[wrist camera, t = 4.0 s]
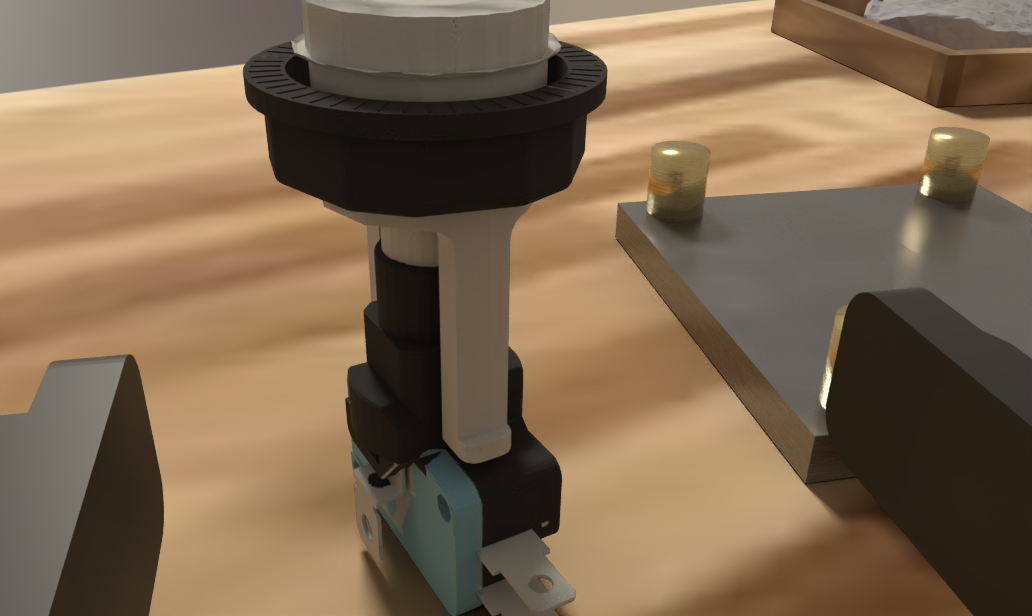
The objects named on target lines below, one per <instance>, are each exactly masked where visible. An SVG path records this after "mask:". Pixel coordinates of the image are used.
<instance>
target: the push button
mask: <svg viewBox="0 0 1032 616" xmlns="http://www.w3.org/2000/svg"><path fill="white" fill-rule="evenodd" d="M301 2H302V15H303V25H304V32H303V33H302V34H300V35H299V36H297V37H296V38H295V39H293V40H292V41H291V42H287V43H283V44H280V45H277V46H274V47H272V48H269V49H267V50H264V51H262V52H260V53H258V54H257V55H255V56H254V57H252V58H251V59H250V60H249V61H248V62H247V63H246V64H245V66H244V68H243V77H244V85H245V94H246V98H247V101H248V102H249V104H250V105H251V106H252V107H253V108H254V109H256V110H257V111H258V112H260V113H262V114H264V115H265V123H266V133H267V142H268V151H269V158H270V162H271V165H272V168H273V172H274V175H275V178H276V179H277V180H278V182H280V183H282V184H284V185H287V186H289V187H291V188H294V189H296V190H299V191H301V192H304V193H306V194H309V195H311V196H313V197H316V198H318V199H321V200H323V204H324V207H326V208H328V209H330V210H333V211H335V212H337V213H339V214H341V215H344V216H346V217H348V218H350V219H353V220H355V221H357V222H359V223H361V224H364V225H367V237H368V254H369V270H370V286H371V303H369V305H368V306H367V307H366V308H365V309H364V323H365V338H366V354H367V362H366V363H362V364H358V365H355V366H351V367H349V369H348V375H347V386H348V398H346V399H345V401H346V413H347V424H348V428H349V432H350V435H351V437H352V449H353V450H351V456H352V466H353V476H354V478H355V479H356V481H357V483H356V484H354V492H355V505H356V517H357V526H358V529H359V533H360V536H361V538H362V540H363V541H364V543H365V544H366V546H367V547H368V549H369V551H370V552H371V554H372V555H373V557H374V558H375V560H376V562H377V561H380V560H383V559H384V558H383V542H382V526H381V516H380V514H379V513H378V511H377V509H378V510H379V512H380V513H381V515H382V516H383V518H384V519H385V521H386V522H387V524H388V525H389V527H390V528H391V530H392V531H393V532H394V534H395V535H396V537H397V538H398V540H399V541H400V543H401V544H402V546H403V547H404V549H405V550H406V551H407V553H408V554H409V556H410V557H411V559H412V560H413V562H414V563H415V565H416V566H417V568H418V569H419V571H420V572H421V573H422V575H423V576H424V578H425V579H426V581H427V582H428V584H429V585H430V587H431V588H432V590H433V591H434V593H435V594H436V595H437V597H438V598H439V600H440V601H441V603H442V604H443V606H444V607H445V609H446V610H447V612H448V613H449V614H450V615H451V616H457V615H460V614H462V613H464V612H467V611H469V610H471V609H474V608H476V607H479V606H482V605H484V606H485V607H486V608H487V610H488V611H489V613H490V614H491V615H492V616H496V615H498V614H501V615H502V616H559V615H558V614H557V613H556V611H555V610H554V609H556V608H558V607H561V606H563V605H565V604H568V603H570V602H572V601H574V599H575V596H576V591H575V590H574V589H573V588H572V587H571V585H570V584H569V583H568V582H567V581H566V580H565V578H564V577H563V576H562V575H561V574H560V573H559V572H558V570H557V569H556V568H555V567H554V566H553V565H552V563H551V562H550V561H549V560H548V559H547V558H546V556H545V555H546V554H549V553H550V549H549V548H548V547H547V546H546V545H545V543H544V542H543V541H542V540H541V539H542V538H544V537H547V536H549V535H552V534H554V533H556V532H557V531H558V529H559V524H560V505H561V487H562V474H561V470H560V466H559V464H558V462H557V460H556V458H555V457H554V456H553V455H552V454H551V453H550V452H549V451H548V450H547V449H546V448H545V447H544V446H543V445H542V444H541V443H540V442H539V441H538V440H537V439H536V438H535V437H534V436H533V435H532V434H531V433H530V432H529V431H528V430H527V427H526V425H525V422H524V420H523V417H522V401H523V368H522V364H521V361H520V359H519V358H518V356H517V355H516V353H515V352H514V351H513V350H512V349H511V348H510V347H509V346H508V339H509V283H510V238H511V233H512V229H513V227H514V225H515V223H516V221H517V220H518V219H519V217H520V216H521V215H523V214H524V213H525V212H526V211H527V210H528V208H529V207H530V206H531V205H532V203H533V202H535V201H537V200H540V199H542V198H545V197H547V196H550V195H552V194H555V193H557V192H559V191H562V190H564V189H566V188H568V186H569V185H570V184H571V182H572V180H573V177H574V175H575V173H576V170H577V168H578V166H579V164H580V161H581V159H582V157H583V154H584V151H585V138H586V120H587V114H588V113H590V112H592V111H593V110H595V109H596V108H597V107H598V106H599V105H600V104H602V102H603V100H604V99H605V95H606V85H607V67H606V65H605V63H604V62H603V61H602V60H601V59H600V58H599V57H597V56H596V55H594V54H593V53H591V52H589V51H587V50H585V49H582V48H580V47H577V46H574V45H571V44H568V43H565V42H561V41H558V40H557V38H556V37H555V36H554V35H553V34H552V33H549V11H550V0H301ZM366 517H367V519H368V521H369V523H370V526H371V530H372V536H371V534H370V532H369V530H368V527H367V523H366ZM539 578H544V579H548V580H549V581H550V582H552V584H553V588H552V589H551V591H549V592H548V589H547V588H546V587H545V586H544V584H543V583H542V582H541V581H540V580H539Z"/></svg>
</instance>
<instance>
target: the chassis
mask: <svg viewBox="0 0 1032 616" xmlns="http://www.w3.org/2000/svg"><path fill="white" fill-rule="evenodd" d="M989 141H990V138H989V137H988V136H987V135H985V134H983V133H981V132H978V131H974V130H970V129H965V128H957V127H939V128H935V129H932V130H931V133H930V138H929V142H928V146H927V150H926V154H925V159H924V163H923V167H922V171H921V176H920V180H919V184H905V185H890V186H874V187H859V188H843V189H828V190H812V191H797V192H782V193H766V194H751V195H735V196H720V197H705V193H706V185H707V176H708V168H709V160H710V150H709V149H708V148H707V147H705V146H702V145H700V144H696V143H691V142H684V141H666V142H660V143H657V144H655V145H653V146H652V150H651V161H650V172H649V183H648V194H647V201H642V202H627V203H618V210H617V223H616V236H615V237H616V238H617V240H618V241H619V242H620V244H621V245H622V246H623V248H624V249H625V250H626V251H627V253H628V254H629V255H630V257H631V258H632V259H633V260H634V262H635V263H636V264H637V266H638V267H639V268H640V270H641V271H642V272H643V273H644V275H645V276H646V277H647V279H648V280H649V281H650V283H651V284H652V285H653V286H654V288H655V289H656V290H657V292H658V293H659V294H660V295H661V297H662V298H663V299H664V301H665V302H666V303H667V305H668V306H669V307H670V308H671V310H672V311H673V312H674V314H675V315H676V316H677V318H678V319H679V320H680V321H681V323H682V324H683V325H684V327H685V328H686V329H687V330H688V332H689V333H690V334H691V336H692V337H693V338H694V340H695V341H696V342H697V343H698V345H699V346H700V347H701V349H702V350H703V351H704V353H705V354H706V355H707V356H708V358H709V359H710V360H711V362H712V363H713V364H714V365H715V367H716V368H717V369H718V371H719V372H720V373H721V375H722V376H723V377H724V378H725V380H726V381H727V382H728V384H729V385H730V386H731V388H732V389H733V390H734V391H735V393H736V394H737V395H738V397H739V398H740V399H741V400H742V402H743V403H744V404H745V406H746V407H747V408H748V410H749V411H750V412H751V413H752V415H753V416H754V417H755V419H756V420H757V421H758V423H759V424H760V425H761V426H762V428H763V429H764V430H765V432H766V433H767V434H768V435H769V437H770V438H771V439H772V441H773V442H774V443H775V445H776V446H777V447H778V448H779V450H780V451H781V452H782V454H783V455H784V456H785V458H786V459H787V460H788V461H789V463H790V464H791V465H792V467H793V468H794V469H795V470H796V472H797V473H798V474H799V476H800V477H801V478H802V480H803V481H804V482H805V483H811V482H818V481H826V480H833V479H841V478H848V477H856V476H855V475H854V474H853V472H852V471H851V470H850V469H849V468H848V466H847V465H846V464H845V463H844V462H843V461H842V459H841V458H840V457H839V456H838V454H837V453H836V451H835V449H834V448H833V445H832V443H831V441H830V438H829V435H828V431H827V426H826V416H825V411H826V401H827V396H828V392H829V387H830V382H831V378H832V373H833V368H834V363H835V359H836V354H837V349H838V345H839V340H840V335H841V331H842V326H843V321H844V316H845V313H846V309H847V307H848V304H849V303H850V301H851V300H852V298H853V297H854V296H855V295H857V294H859V293H862V292H872V291H883V290H895V289H906V288H924V289H927V290H929V291H930V292H932V293H933V294H934V295H936V296H937V297H938V298H940V299H941V300H942V301H944V302H945V303H946V304H948V305H949V306H950V307H952V308H953V309H954V310H956V311H957V312H958V313H960V314H961V315H962V316H963V317H965V318H966V319H967V320H969V321H970V322H971V323H973V324H974V325H975V326H977V327H978V328H979V329H981V330H982V331H984V332H987V333H989V334H991V335H993V336H995V337H998V338H1000V339H1002V340H1004V341H1006V342H1009V343H1011V344H1013V345H1014V346H1015V347H1017V348H1018V349H1019V350H1021V351H1022V352H1023V353H1025V354H1026V355H1027V356H1029V357H1030V358H1032V213H1030V212H1028V211H1026V210H1024V209H1022V208H1020V207H1019V206H1017V205H1015V204H1013V203H1011V202H1009V201H1008V200H1006V199H1004V198H1002V197H1000V196H998V195H996V194H995V193H993V192H991V191H989V190H987V189H985V188H984V187H982V186H980V185H978V182H979V178H980V174H981V170H982V167H983V163H984V159H985V156H986V152H987V148H988V144H989Z"/></svg>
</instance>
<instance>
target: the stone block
mask: <svg viewBox="0 0 1032 616" xmlns="http://www.w3.org/2000/svg"><path fill="white" fill-rule="evenodd" d="M864 18H866V19H869V20H872V21H875V22H877V23H880V24H883V25H886V26H889V27H891V28H894V29H897V30H900V31H902V32H905V33H908V34H911V35H914V36H916V37H919V38H922V39H925V40H927V41H930V42H933V43H936V44H938V45H941V46H944V47H947V48H950V49H952V50H974V49H1004V48H1032V0H883V2H882V1H878V0H871V1H870V2H869V3H868V4H867V7H866V10H865V13H864Z"/></svg>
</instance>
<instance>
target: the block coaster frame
mask: <svg viewBox="0 0 1032 616" xmlns="http://www.w3.org/2000/svg"><path fill="white" fill-rule="evenodd" d="M870 1H871V0H775V7H774V14H773V21H772V28H771V31H772V32H774V33H776V34H778V35H780V36H782V37H785V38H787V39H789V40H791V41H793V42H796V43H798V44H800V45H802V46H804V47H807V48H809V49H811V50H813V51H815V52H817V53H820V54H822V55H824V56H826V57H828V58H831V59H833V60H835V61H837V62H839V63H842V64H844V65H846V66H848V67H850V68H852V69H855V70H857V71H859V72H861V73H863V74H866V75H868V76H870V77H872V78H874V79H877V80H879V81H881V82H883V83H885V84H887V85H890V86H892V87H894V88H896V89H898V90H901V91H903V92H905V93H907V94H909V95H911V96H914V97H916V98H918V99H920V100H922V101H925V102H927V103H929V104H931V105H933V106H936V107H946V106H967V105H989V104H1010V103H1032V48H1004V49H974V50H952V49H950V48H947V47H944V46H941V45H938V44H936V43H933V42H930V41H927V40H925V39H922V38H919V37H916V36H914V35H911V34H908V33H905V32H902V31H900V30H897V29H894V28H891V27H889V26H886V25H883V24H880V23H877V22H875V21H872V20H869V19H866V18H864V13H865V10H866V7H867V4H868V3H869V2H870ZM878 1H882V2H883V0H878Z"/></svg>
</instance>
